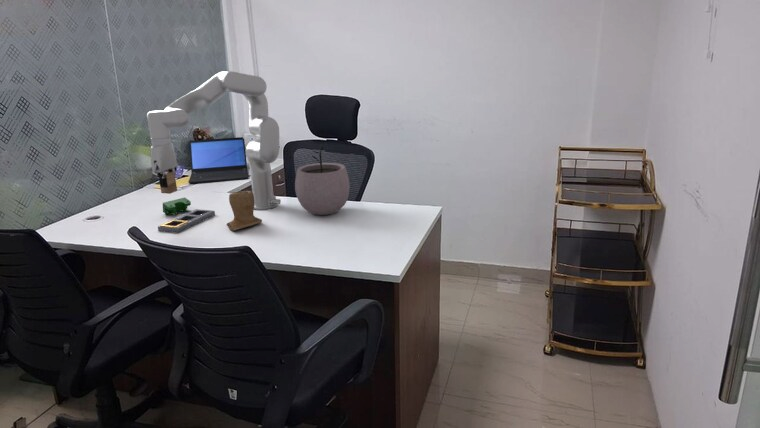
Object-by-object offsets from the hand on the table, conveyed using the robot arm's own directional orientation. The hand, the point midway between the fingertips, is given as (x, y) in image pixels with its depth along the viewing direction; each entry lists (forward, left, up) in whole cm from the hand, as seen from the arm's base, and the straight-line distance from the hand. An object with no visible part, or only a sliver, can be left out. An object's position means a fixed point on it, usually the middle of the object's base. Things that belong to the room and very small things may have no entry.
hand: (168, 185), depth 223 cm
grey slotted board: (0, -8, -19) cm, 21 cm away
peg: (0, 0, -3) cm, 3 cm away
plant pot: (-53, -35, -19) cm, 66 cm away
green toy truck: (+15, -19, -19) cm, 31 cm away
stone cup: (-27, -10, -19) cm, 35 cm away
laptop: (+43, -90, -20) cm, 102 cm away
